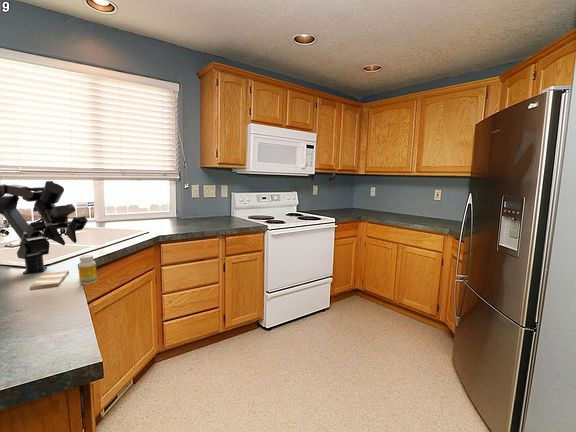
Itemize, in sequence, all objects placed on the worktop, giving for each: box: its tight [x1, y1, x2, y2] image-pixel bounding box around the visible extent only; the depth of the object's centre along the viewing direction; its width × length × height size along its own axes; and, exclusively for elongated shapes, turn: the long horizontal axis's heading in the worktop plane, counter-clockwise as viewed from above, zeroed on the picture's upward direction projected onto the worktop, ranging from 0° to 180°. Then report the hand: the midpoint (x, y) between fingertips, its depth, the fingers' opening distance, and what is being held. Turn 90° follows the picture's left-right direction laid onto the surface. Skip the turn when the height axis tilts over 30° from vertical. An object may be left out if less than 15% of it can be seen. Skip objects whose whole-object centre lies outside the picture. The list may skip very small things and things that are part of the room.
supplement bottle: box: [77, 254, 98, 285], centre depth 111 cm, size 5×5×10 cm
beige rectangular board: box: [29, 270, 70, 290], centre depth 114 cm, size 16×8×1 cm, turn 25°
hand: (70, 243), depth 114 cm, fingers open, 4 cm apart
